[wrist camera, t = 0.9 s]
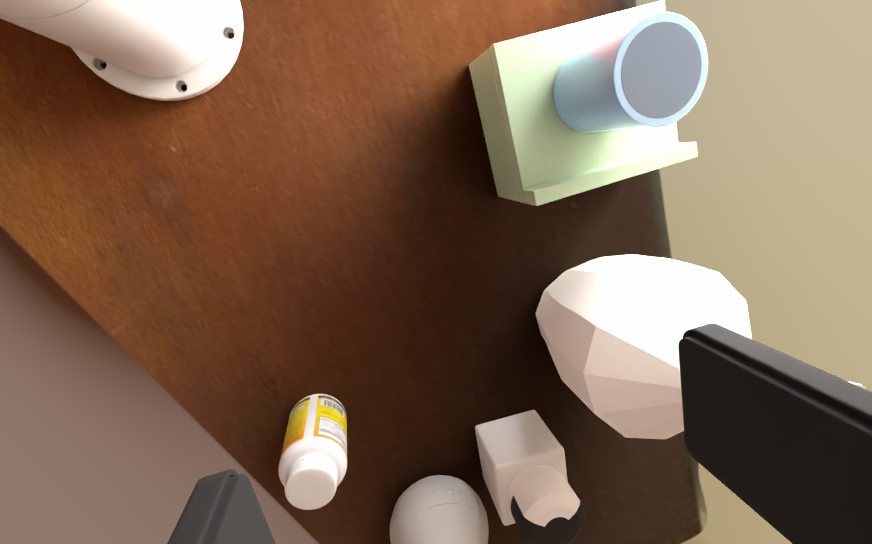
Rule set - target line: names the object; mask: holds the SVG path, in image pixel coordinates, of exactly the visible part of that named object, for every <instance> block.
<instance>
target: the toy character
mask: <svg viewBox="0 0 872 544" xmlns="http://www.w3.org/2000/svg"><path fill="white" fill-rule="evenodd" d="M488 535H489V529H488V520H487V513H486V511H485V508H484V506H483V504H482V501H481V499H480V498H479V496H478V495H477V493H476V492H475V491H474V490H473V489H472V488H471V487H470V486H469V485H468V484H467V483H465V482H464V481H462V480H460V479H458V478H455V477H452V476H445V475H435V476H429V477H426V478H423V479H421V480H419V481H417V482H415V483H414V484H412V485H411V486H410V487H409V488H408V489H406V490H405V491H404V492H403V493H402V495H401V496H400V497H399V499H398V500H397V502H396V504H395V506H394V510H393V514H392V518H391V521H390V541H391V544H488Z"/></svg>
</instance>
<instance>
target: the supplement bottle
mask: <svg viewBox="0 0 872 544" xmlns="http://www.w3.org/2000/svg"><path fill="white" fill-rule="evenodd" d="M346 469H347V415H346V411H345V408H344V407H343V405H342V404H341V402H340V401H338V400H337V399H336V398H334V397H332V396H330V395H326V394H314V395H310V396H307V397H305V398H303V399H302V400H300V401H299V402H298V403H297V404H296V405H295V406H294V407H293V409H292V411H291V414H290V417H289V421H288V426H287V430H286V435H285V439H284V444H283V449H282V453H281V458H280V462H279V477H280V480H281V482H282V484H283V485H284V487H285V495H286V498H287V500H288V501H289V502H290V503H291V504H292V505H293V506H295V507H297V508H299V509H304V510H313V509H318V508H320V507H322V506H324V505H326V504H327V503H328V502H330V501H331V499H332V498H333V497H334V495H335V492H336V488H337V486H338V485H339V484H340V483H341V481H342V480H343V478H344V476H345V473H346Z"/></svg>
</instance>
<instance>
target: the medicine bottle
mask: <svg viewBox="0 0 872 544" xmlns="http://www.w3.org/2000/svg"><path fill="white" fill-rule="evenodd" d="M475 432H476V438H477V444H478V450H479V456H480V462H481V467H482V473H483V478H484V481H485V483H486V485H487V488H488V490H489V492H490V495H491V497H492V499H493V502H494V504H495V507H496V509H497V511H498V514H499V516H500V518H501V521H502V523H503V524H504V525H505V526H507V525H511V524H514V523H516V525H517V527H518V529H519V531H520V533H521V536H522V538H523V540H524V541H525V543H526V544H570V543H571V542H572V541H573V540H574V539H575V538H576V537H577V536H578V534H579V533H580V531H581V529H582V527H583V524H584V519H585V510H584V507H583V505H582V503H581V501H580V500H579V498H578V497H577V495H576V494H575V493H574V491H573V490H572V488H571V487H570V485H569V484H568V482H567V472H566V463H565V453H564V448H563V447H562V445H561V444H560V443H559V441H558V440H557V439H556V437H555V436H554V435H553V433H552V432H551V430H550V429H549V428H548V426H547V425H546V424H545V422H544V421H543V420H542V418H541V417H540V416H539V414H538V413H537V412H536V411H535V410H530V411H527V412H523V413H519V414H516V415H512V416H508V417H505V418H501V419H497V420H494V421H490V422H486V423H483V424H479V425H476V426H475Z"/></svg>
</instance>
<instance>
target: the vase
mask: <svg viewBox="0 0 872 544" xmlns="http://www.w3.org/2000/svg"><path fill="white" fill-rule="evenodd" d="M535 315H536V318H537V322H538V325H539V329H540V333H541V336H542V337H543V339H544V340H545V342H546V344H547V347H548V350H549V352H550V354H551V357H552V359H553V361H554V364H555V366H556V368H557V371H558V373H559V375H560V377H561V380H562V381H563V382H564V383H565V384H566V385H567V386H568V387H569V388H570V389H571V390H572V391H573V392H574V393H575V394H576V395H577V396H578V397H579V398H580V399H581V400H582V401H583V402H584V403H585V404H586V406H587V407H588V408H589V409H590V410H591V411H592V412H593V413H594V414H595V415H597V416H598V417H599V418H601V419H602V420H603V421H605V422H606V423H607V424H608V425H610V426H611V427H612V428H614V429H615V430H616V431H618V432H619V433H620V434H622V435H623V436H624V437H626V438H650V439H667V438H669V437H672V436H674V435H676V434H678V433H680V432H682V431H684V422H683V407H682V393H681V378H680V364H679V349H678V345H679V341H680V340H681V339H683V334H684V332H685V331H687V330H689V329H692V328H696V327H699V326H702V325H705V324H709V323H715V324H718V325H721V326H723V327H725V328H727V329H730V330H732V331H734V332H737V333H739V334H741V335H743V336H746V337H748V338H750V339H752V337H751V330H750V323H749V315H748V309H747V302H746V300H745V299H744V298H743V297H742V296H741V295H740V294H739V293H738V292H737V291H736V290H735V289H734V288H733V287H732V286H731V284H730V283H729V282H728V281H727V280H726V279H725V278H724V277H723V276H722V275H721V274H720V273H719V272H716V271H713V270H709V269H706V268H703V267H699V266H696V265H693V264H689V263H685V262H680V261H676V260H672V259H668V258H659V257H650V256H641V255H632V254H630V255H619V256H607V257H600V258H597V259H593V260H591V261H588V262H586V263H583V264H581V265H579V266H576V267H574V268H571V269H569V270H567V271H565V272H564V273H562V274H561V275H560V276H559V277H558V278H557V279H556V280H554V281H553V282H552V283H551V284H550V285H549V286H548V287H547V288H546V289H545V290H544V291H543V294H542V297H541V299H540V302H539V305H538V307H537V310H536V313H535ZM850 383H852V382H850ZM852 384H855V385H857V386H859V387H862V388H864V389H866V388H865V387H864V386H863V385H862V384H857V383H852ZM866 390H867V389H866Z"/></svg>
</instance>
